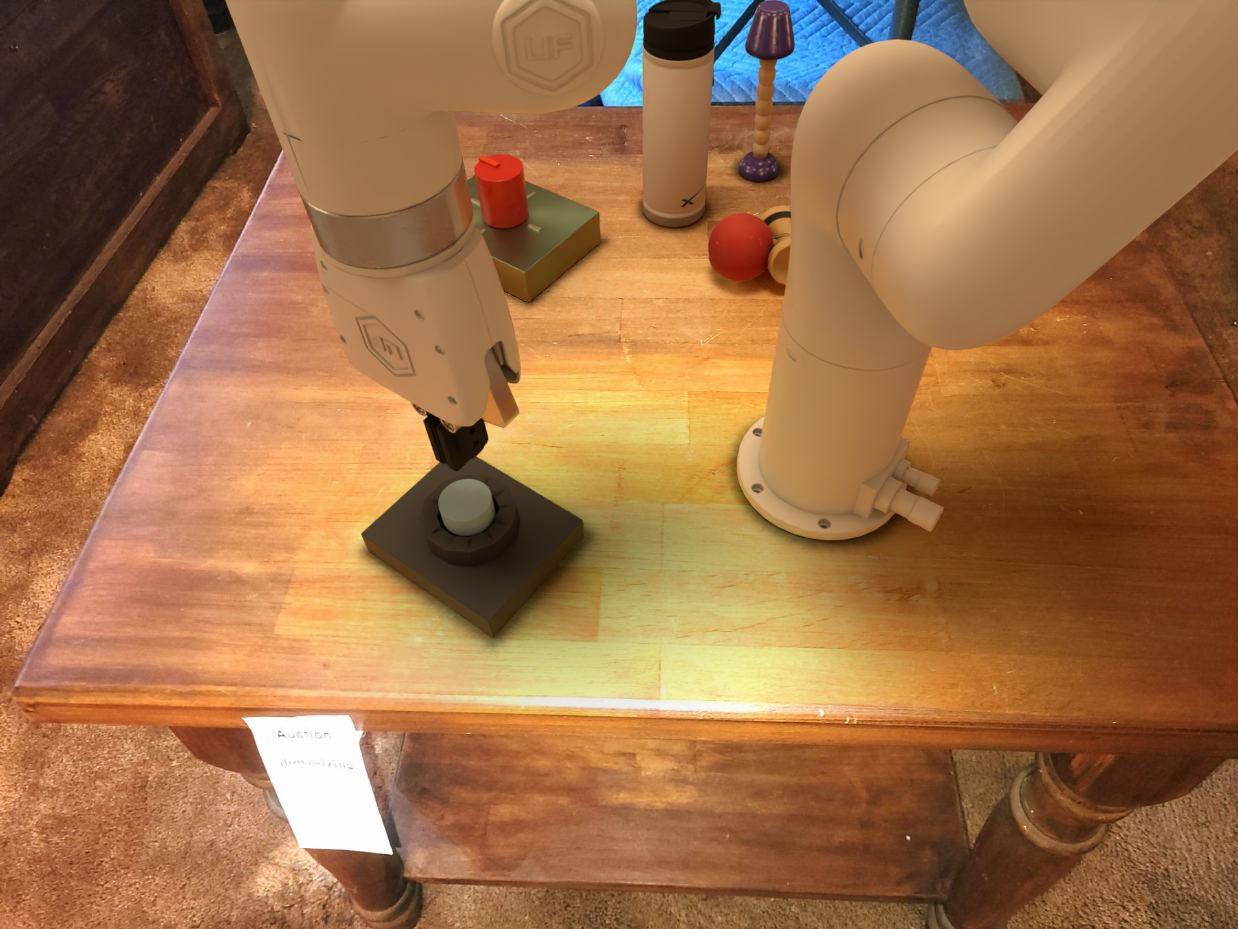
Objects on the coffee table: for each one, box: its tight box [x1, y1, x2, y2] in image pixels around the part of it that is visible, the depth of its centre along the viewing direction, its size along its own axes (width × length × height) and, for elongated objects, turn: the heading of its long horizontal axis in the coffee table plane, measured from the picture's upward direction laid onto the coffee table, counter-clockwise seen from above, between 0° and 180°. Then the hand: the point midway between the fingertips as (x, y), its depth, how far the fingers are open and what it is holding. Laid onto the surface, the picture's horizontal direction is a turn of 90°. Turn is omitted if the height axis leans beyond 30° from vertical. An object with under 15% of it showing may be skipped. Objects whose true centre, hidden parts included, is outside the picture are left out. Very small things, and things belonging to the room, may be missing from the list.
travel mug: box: [641, 0, 722, 228], centre depth 81 cm, size 6×7×20 cm
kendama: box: [707, 204, 791, 286], centre depth 80 cm, size 8×6×18 cm
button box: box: [360, 455, 585, 639], centre depth 62 cm, size 12×10×4 cm
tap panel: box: [467, 174, 602, 303], centre depth 84 cm, size 14×11×4 cm
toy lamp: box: [737, 0, 796, 182], centre depth 86 cm, size 5×5×17 cm
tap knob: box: [473, 153, 529, 228], centre depth 81 cm, size 4×4×5 cm
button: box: [438, 479, 495, 536], centre depth 60 cm, size 4×4×2 cm
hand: (463, 451), depth 55 cm, fingers closed
